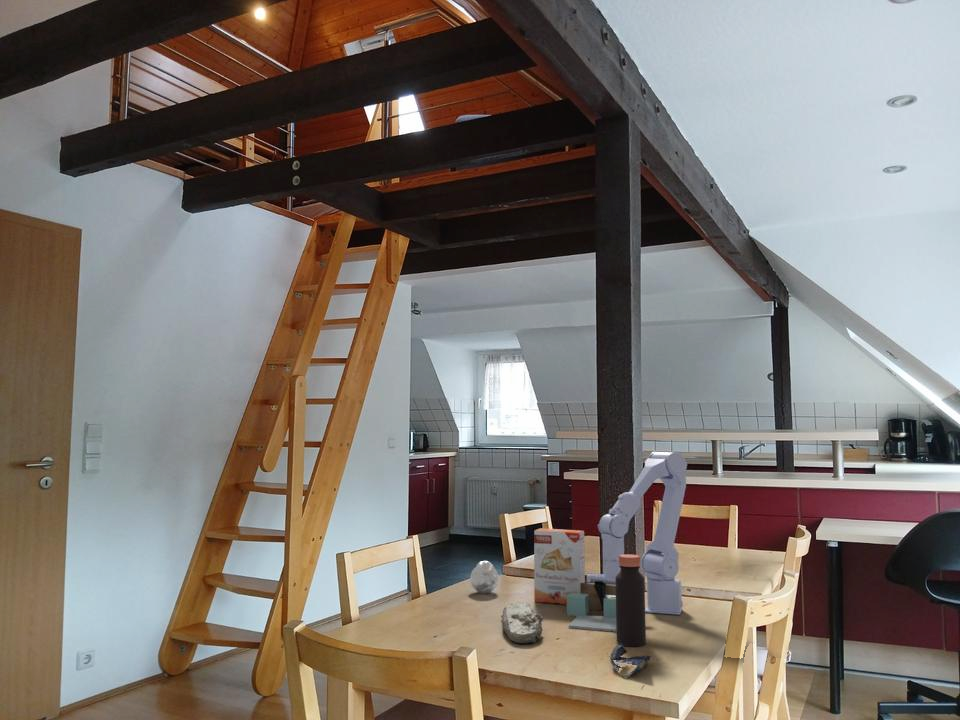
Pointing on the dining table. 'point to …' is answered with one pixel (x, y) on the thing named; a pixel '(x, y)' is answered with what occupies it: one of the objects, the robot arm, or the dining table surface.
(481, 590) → the grey egg-shaped stone
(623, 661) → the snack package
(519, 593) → the dining table surface
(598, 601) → the walnut screen
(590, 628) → the slate tile
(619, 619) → the bottle
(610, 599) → the lettered cube
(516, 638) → the elongated rock
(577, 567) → the cracker box
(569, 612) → the blank cube
